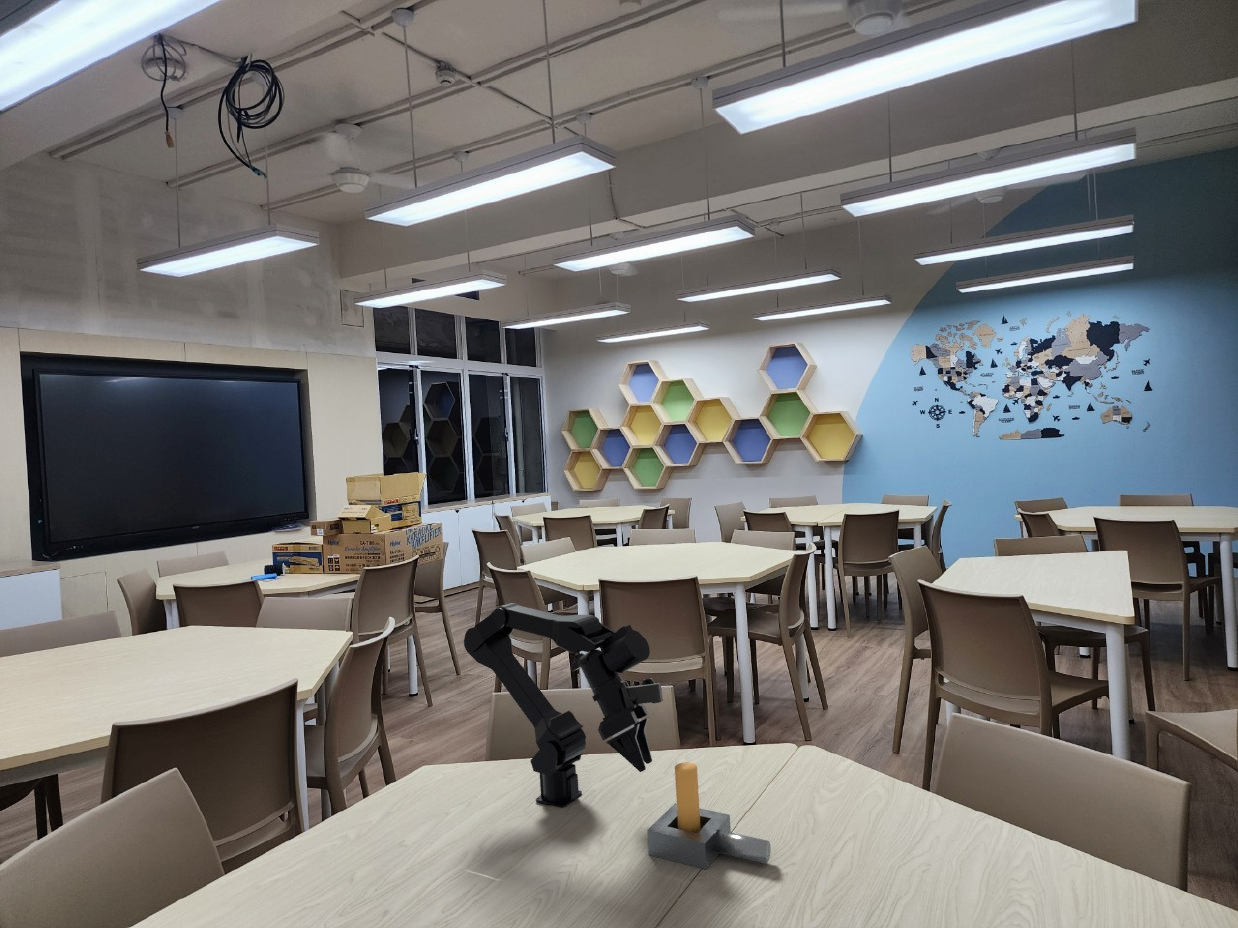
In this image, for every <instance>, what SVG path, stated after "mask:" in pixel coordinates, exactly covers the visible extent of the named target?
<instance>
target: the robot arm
mask: <svg viewBox="0 0 1238 928" xmlns="http://www.w3.org/2000/svg"><path fill="white" fill-rule="evenodd" d="M515 630H517V631H521V632H524V633H528V634H532V635H535V636H539V637H543V638H547V639H550V640H552V641H553V642H554V644H555V645H556V646H557V647H559V648H561V649H563V650H565V651H567V652H568V653H572V654H574V656H573V662H572V664H571V667H570V670H571V671H572V672H574V671H576V670H577V671H578V670H579V669H581V671H582V673H583V675H584V678H585V679H586V681H587V683H588V685H589V688H590V690H591V692H592V694H593V695H592V696H591V697H592V699H593V702H597V704H598V706H599V708H600V709H599V710H600V711H601V713H602V714H603V718H602V721H600V722H599V726H598V729H597V731H598V734H599V735H600V738H601V740H602V741H605V740H607V739H608V740H607V741H605V743H606V745H609V746H610V747H611V748H612V749H614V750H615V752H617V753H618V754H619V755H621V756H622V757H623V758H624V759H625V760H626V761H627V762H629V764H630V765H632V766H633V767H634V768H635V770H637V771H638V772H639V773H641V772H644V771H646V765H649V764H651V763H652V762H653V759H652V758H653V757H652V753H651V750H650V746H649V742H648V738H647V734H646V728H647V724H648V721H649V717H648V715H649V712H648V710H647V708H646V706H645V704H648V703H651V704H660V703H662V702H663V701H664V699H663V692H662V691H663V689H662V684H661V682H657V683H656V682H655V679H653V678H652V677H651V678H645V679H642V683H641V685H640V684H639V685H635V686H630V685H629V682H628V681H627V680H625V679H623V678H622V676H621V675H620V674H623V673H625V672H627V671H629V670H631V669H632V668H634V667H636V666H637V665H639V664H641V663H642V662H644V661H646V660H647V659H649V657H650V653H651V652H650V644H649V642H648V641H647V638H645V637H644V636H643V635H642V634H641V633H640V632H639V631H637V630H635V629H633V627H632V626H631V624H630V623H629V624H626V625H623V626H622V627H620V628H618V629H617V631H614V630H612V629H611V628H610V627H608V626H607V625H605V624H603V623H601V622H600V620H599V618H598V617H597V616H596V615H593V614H573V615H572V614H571V615H560V614H555V613H552V612H548V611H544V610H541V609H540V610H539V609H535V608H531V607H528V606H527V607H526V606H523V605H520V604H518V603H515V602H511V603H507V604H503V605H500V606H497V607H496V608H495V609H494V610H493V611H492V612H491V613H489V615H488V616H486V617H485V618H483V619H482V620H481V621H479V622H478V623H477V624H475V625H474V626H472V627H469V628H468V629H467V630H466V632H465V633H464V639H463V646H464V649H465V651H466V652H467V653H468V655H470V657H471V658H473V660H474V661H475V662H476V663H477V664H479V665H482V666H483V667H485V668H487V669H490V670H491V671H493V673H494V674H495V675H496V677H497V678H498V680H499V681H500V683H501V684H502V685H503V686H504V688H505V689H506V691H507V692H508V693H509V694H510V696H511V697H512V699H513V701H514V702H515V703H516V705H517V706H518V707H519V708H520V710H521V711H522V712H523V714H524V715H525V716H526V717H527V719H528V720H529V722H530V724H532V727H533V728H534V734H535V735H534V736H535V743H536V745H537V747H538V749H539V750H537V752H536V753H535V754H534V755H533V756H532V758H531V759H530V764H531V768H532V770H533V772H535V773H538V774H539V787H540V788H539V789H540V795H539V796H537V797H536V798H535V802H536V803H539V804H545V805H549V806H553V807H558V808H566V807H567V806H568V805H570V804H571V803H573V802H574V801H575V800H577V799H578V798H579V797H580V796H581V795H582V793H583V792H582V790H579V789H580V788H579V775H578V773H577V771H576V770H577V769H576V766H577V765H576V764H575V762H578V761H581V759H582V755H583V752H584V750H585V749H586V745H587V742H586V741H587V736H586V734H585V731H584V730H583V729H582V728H584V725H583V724H581V723H580V722H579V721H578V720H577V719H576V717H575V715H574V713H573V712H572V711H570V710H566V711H564V712H560V711H557V710H556V709H555V708H554V707H553V705H552V704H551V703H550V702H549V699H547V697H546V696H545V694H544V693H543V692H542V691H541V690H540V688H539V686H538V685H537V684H536V683H535V681H534V680H533V678H532V677H531V676H530V675H529V674H528V672H527V670H525V668H524V667H523V665H522V664H521V662H519V660H518V659H517V657H515V655H514V653H513V646H512V645H513V643H512V639H511V637H510V635H512V633H514V631H515ZM582 652H584V653H582ZM646 716H647V717H646ZM644 717H645V718H644ZM642 718H644V719H642Z"/></svg>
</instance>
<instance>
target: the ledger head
mask: <svg viewBox="0 0 1238 928" xmlns="http://www.w3.org/2000/svg"><path fill="white" fill-rule="evenodd" d="M699 810H700V829H701V830H700V831H699V832H698V833H694V832H689V831H685V830H680V829H678V817H677V802H675V803H673V805H671V807H669V809H668V810H666V811H665V813H663V814H662V815H661V816H660V817H659V818H658V819H657V820H656V821H655V822H654V823H653V824H652V825H651V826H650V827H648V829H647V830H646V832H647V845H648V847H647V850H648V855H649V856H651V857H656V858H660V859H664V860H667V861H671V862H676V863H679V864H683V865H688V866H692V867H696V868H699V869H703V870H708V869H709V867H710V866H711V864H712V863H713V862H714V861H715V859H716V858H717V857H718V856H719V855H720V854H722V855H723V854H724V855H728V856H731V857H736V858H740V859H745V860H748V861H752V862H758V863H762V864H764V865H765V864H766V865H767V864H768V862H770V858H771V849H772V847H771V846H772V845H771V841H769V840H766V839H762V838H757V837H753V836H748V835H744V834H739V833H734V832H731V831H732V830H731V829H732V828H731V814H729V813H723V812H719V811H713V810H708V809H704V808H700V807H699Z"/></svg>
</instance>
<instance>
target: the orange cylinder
mask: <svg viewBox="0 0 1238 928" xmlns="http://www.w3.org/2000/svg"><path fill="white" fill-rule="evenodd" d="M674 775H675V776H674V778H675V793H676V794H675V796H676V797H675V798H676V804H677V817H678V829H680V830H685V831H689V832H694V833H698V832H699V831H700V830H701V829H700V810H699V808H700V798H699V797H700V796H699V777H698V766H697V764H696V763H693V762H680V763H677V764H676V765H675V766H674Z"/></svg>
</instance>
